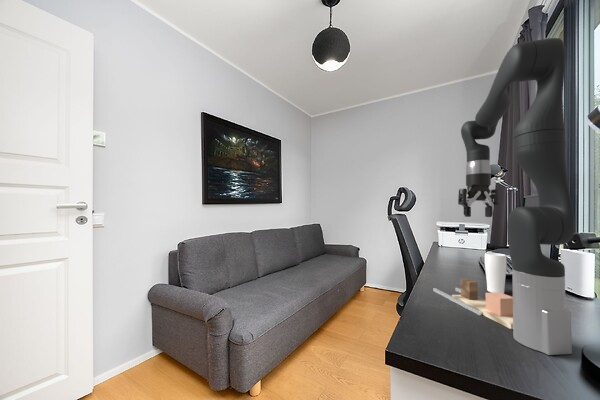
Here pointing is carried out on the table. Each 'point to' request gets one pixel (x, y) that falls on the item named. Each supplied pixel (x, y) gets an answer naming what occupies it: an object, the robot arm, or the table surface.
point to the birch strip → (480, 302)
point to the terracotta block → (499, 304)
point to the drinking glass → (495, 272)
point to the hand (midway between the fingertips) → (478, 216)
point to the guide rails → (458, 300)
